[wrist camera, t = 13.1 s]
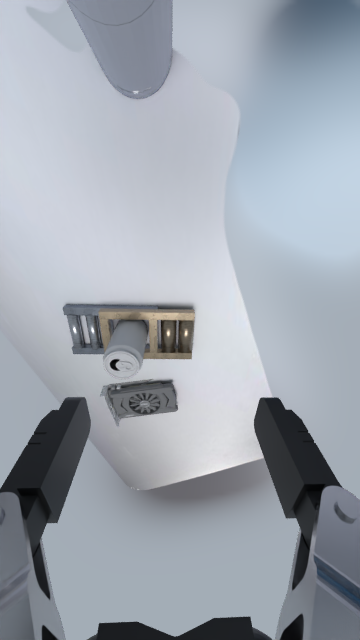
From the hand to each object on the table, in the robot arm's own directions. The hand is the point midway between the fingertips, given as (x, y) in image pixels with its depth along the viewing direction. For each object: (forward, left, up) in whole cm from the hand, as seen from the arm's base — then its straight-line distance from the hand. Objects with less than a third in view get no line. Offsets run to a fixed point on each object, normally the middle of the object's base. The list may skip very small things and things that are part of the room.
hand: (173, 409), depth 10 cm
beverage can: (+15, -8, -33) cm, 37 cm away
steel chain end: (+15, -12, -33) cm, 38 cm away
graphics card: (+35, -7, -34) cm, 49 cm away
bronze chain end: (+15, -4, -33) cm, 37 cm away
